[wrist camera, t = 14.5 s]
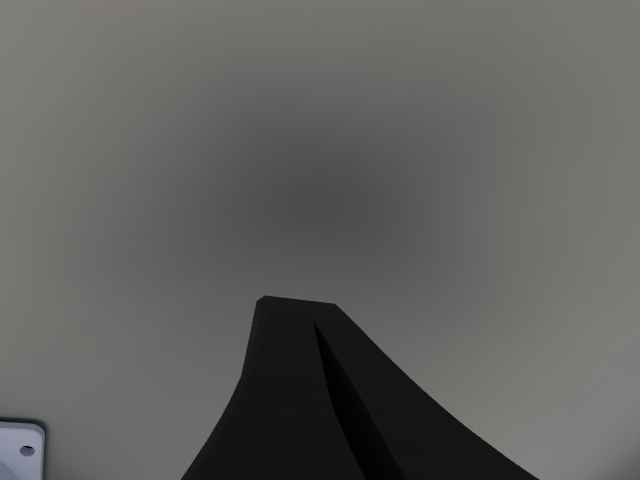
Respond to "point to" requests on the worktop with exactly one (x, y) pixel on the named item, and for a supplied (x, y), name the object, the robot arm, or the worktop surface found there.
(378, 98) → the worktop surface
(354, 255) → the worktop surface
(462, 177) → the worktop surface
